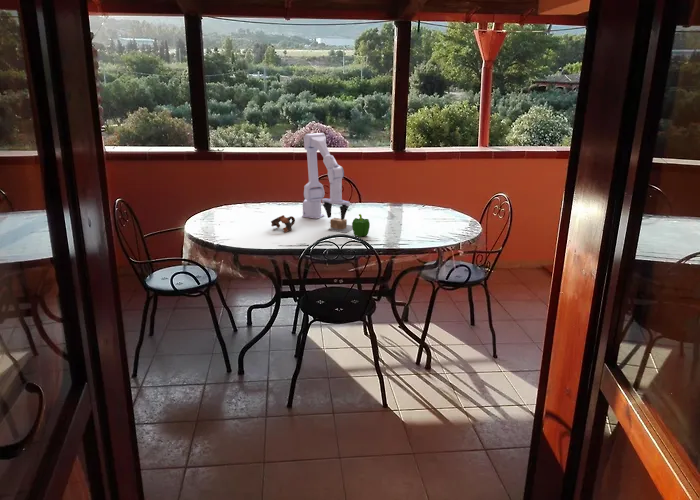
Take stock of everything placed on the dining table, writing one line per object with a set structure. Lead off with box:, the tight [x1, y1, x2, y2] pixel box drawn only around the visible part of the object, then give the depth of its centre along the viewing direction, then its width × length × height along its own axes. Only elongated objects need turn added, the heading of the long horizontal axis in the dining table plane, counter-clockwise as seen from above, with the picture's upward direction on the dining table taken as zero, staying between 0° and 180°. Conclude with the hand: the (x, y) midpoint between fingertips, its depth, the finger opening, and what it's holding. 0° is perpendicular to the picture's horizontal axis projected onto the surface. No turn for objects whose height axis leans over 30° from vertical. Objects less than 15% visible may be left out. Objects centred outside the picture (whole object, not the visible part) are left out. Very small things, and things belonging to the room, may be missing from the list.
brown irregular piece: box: [270, 215, 296, 233], centre depth 269 cm, size 12×10×8 cm
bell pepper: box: [351, 213, 371, 237], centre depth 259 cm, size 8×8×10 cm
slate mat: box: [328, 224, 353, 234], centre depth 272 cm, size 10×12×1 cm
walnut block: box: [329, 217, 348, 229], centre depth 272 cm, size 4×4×7 cm
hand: (336, 218), depth 272 cm, fingers open, 7 cm apart
